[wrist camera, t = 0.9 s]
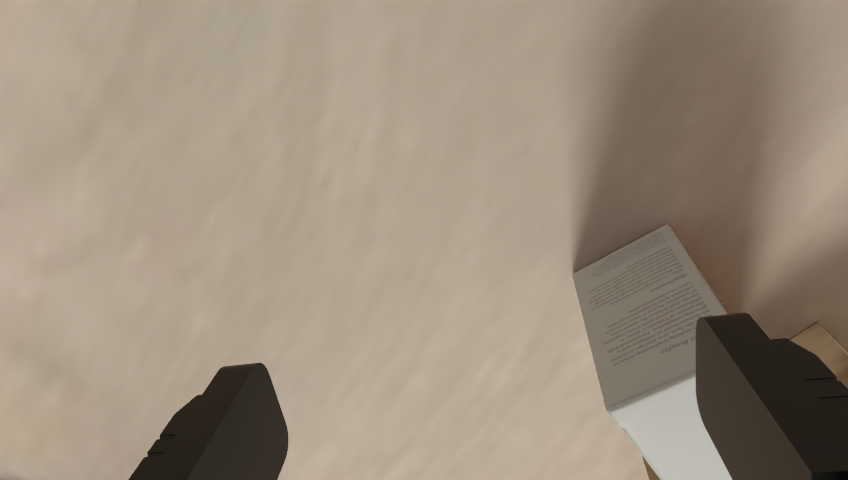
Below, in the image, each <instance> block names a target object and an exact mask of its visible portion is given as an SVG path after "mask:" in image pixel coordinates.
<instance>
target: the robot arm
mask: <svg viewBox="0 0 848 480" xmlns="http://www.w3.org/2000/svg"><path fill="white" fill-rule="evenodd" d="M696 398H697V404H698V408H699V412H700V416H701V419H702V422H703V424H704V426H705V428H706V430H707V432H708V434H709V436H710V438H711V440H712V442H713V444H714V446H715V447H716V449H717V451H718V453H719V455H720V457H721V459H722V461H723V463H724V465H725V467H726V468H727V470H728V472H729V474H730V476H731V478H732V480H848V388H847V387H846V386H845V385H844V384H843V383H842V382H841V381H837V377H836V376H835V374H834V373H833V372H832V371H831V370H830V369H829V368H828V367H827V366H826V365H825V364H824V363H823V362H822V360H821V359H820V358H819V357H818V356H817V355H815V354H814V353H812V352H810V351H808V350H806V349H805V348H803V347H801V346H799V345H797V344H796V343H794V342H792V341H790V340H788V339H787V338H784V339H774V340H770V339H769V338H768V336H767V335H766V334H765V333H764V332H763V330H762V329H761V328H760V327H759V326H758V324H757V323H756V322H755V321H754V320H753V319H752V317H751V316H750V315H749V314H747V313H736V314H727V315H717V316H708V317H700V318H699V319H698V320H697V324H696ZM287 450H288V431H287V426H286V423H285V420H284V417H283V414H282V411H281V408H280V405H279V402H278V399H277V396H276V393H275V390H274V387H273V384H272V381H271V378H270V375H269V373H268V370H267V368H266V367H265V366H264V365H263V364H262V363H254V364H244V365H235V366H226V367H222V368H221V369H220V370H219V371H218V372H217V374H216V375H215V377H214V378H213V380H212V381H211V383H210V384H209V386H208V387H207V388H206V390H205V391H204V393H203V394H202V395H197V396H196V397H195V398H193V399H192V400H191V401H190V402H189V403H187V404H186V405H185V406H184V407H183V408H182V409H180V410H179V411H178V412H177V413H176V414H174V416H173V417H172V419H171V420H170V422H169V423H168V424H167V426H166V427H165V429H164V430H163V431H162V433H161V434H160V439H158V440H156V441H155V443H154V444H153V446H152V447H151V449H150V450H149V451H148V456H147V457H144V458H143V460H142V461H141V463H140V464H139V466H138V467H137V468H136V470H135V471H134V473H133V474H132V476H131V477H130V478H129V480H277V479H278V476H279V474H280V471H281V469H282V466H283V464H284V461H285V458H286V455H287Z"/></svg>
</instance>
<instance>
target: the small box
mask: <svg viewBox="0 0 848 480" xmlns="http://www.w3.org/2000/svg"><path fill="white" fill-rule="evenodd" d="M573 279H574V283H575V287H576V291H577V295H578V299H579V303H580V307H581V311H582V315H583V318H584V322H585V327H586V331H587V335H588V339H589V343H590V347H591V351H592V355H593V359H594V363H595V367H596V371H597V375H598V379H599V383H600V387H601V391H602V395H603V398H604V402H605V407H606V410H607V412H608V414H609V415H610V416H611V417H612V418H613V419H614V421H615V422H616V423H617V424H618V425H619V426H620V428H621V429H622V430H623V431H624V432H625V434H626V435H627V436H628V438H629V439H630V440H631V441H632V443H633V444H634V445H635V447H636V448H637V449H638V451H639V452H640V453H641V455H642V456H643V457H644V459H645V460H646V461H647V463H648V464H649V465H650V466H651V468H652V469H653V470H654V472H655V473H656V474H657V476H658V477H659V478H660V480H732V478H731V476H730V474H729V472H728V470H727V468H726V467H725V465H724V463H723V461H722V459H721V457H720V455H719V453H718V451H717V449H716V447H715V446H714V444H713V442H712V440H711V438H710V436H709V434H708V432H707V430H706V428H705V426H704V424H703V422H702V419H701V416H700V412H699V408H698V404H697V398H696V324H697V320H698V319H699V318H700V317H708V316H717V315H727V314H730V313H729V312H728V311H727V309H726V308H725V306H724V305H723V303H722V302H721V300H720V299H719V297H718V296H717V295H716V293H715V292H714V290H713V289H712V287H711V286H710V284H709V283H708V281H707V280H706V278H705V277H704V275H703V274H702V273H701V271H700V269H699V268H698V266H697V265H696V263H695V262H694V260H693V259H692V258H691V256H690V255H689V253H688V252H687V251H686V249H685V248H684V246H683V245H682V243H681V241H680V240H679V238H678V237H677V235H676V233H675V232H674V230H673V228H672V227H671V226H670V225H669V224H666V225H664V226H662V227H660V228H658V229H656V230H654V231H653V232H651V233H649V234H647V235H645V236H643V237H641V238H639V239H637V240H635V241H633V242H631V243H630V244H628V245H626V246H624V247H622V248H620V249H618V250H616V251H614V252H613V253H611V254H609V255H607V256H605V257H603V258H601V259H599V260H598V261H596V262H594V263H592V264H590V265H588V266H586V267H584V268H582V269H581V270H579V271H577V272H575V273H574V274H573Z"/></svg>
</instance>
